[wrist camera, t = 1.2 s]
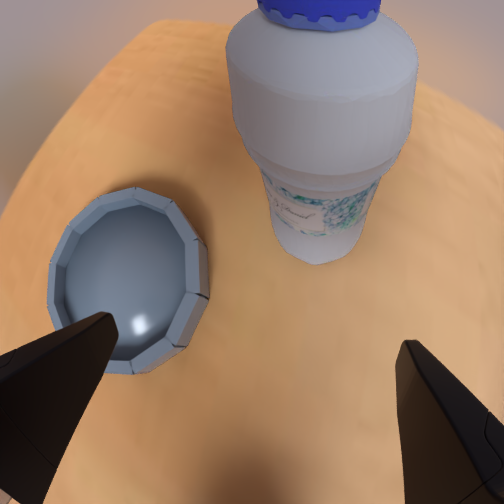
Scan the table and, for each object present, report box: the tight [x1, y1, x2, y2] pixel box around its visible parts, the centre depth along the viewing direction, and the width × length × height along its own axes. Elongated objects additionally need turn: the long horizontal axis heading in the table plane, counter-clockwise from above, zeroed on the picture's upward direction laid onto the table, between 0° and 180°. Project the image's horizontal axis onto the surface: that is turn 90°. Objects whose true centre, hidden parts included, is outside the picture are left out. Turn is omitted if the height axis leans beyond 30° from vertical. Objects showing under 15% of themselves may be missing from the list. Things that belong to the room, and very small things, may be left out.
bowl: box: [47, 187, 210, 375], centre depth 23 cm, size 15×15×2 cm
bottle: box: [226, 0, 418, 265], centre depth 14 cm, size 7×7×20 cm
